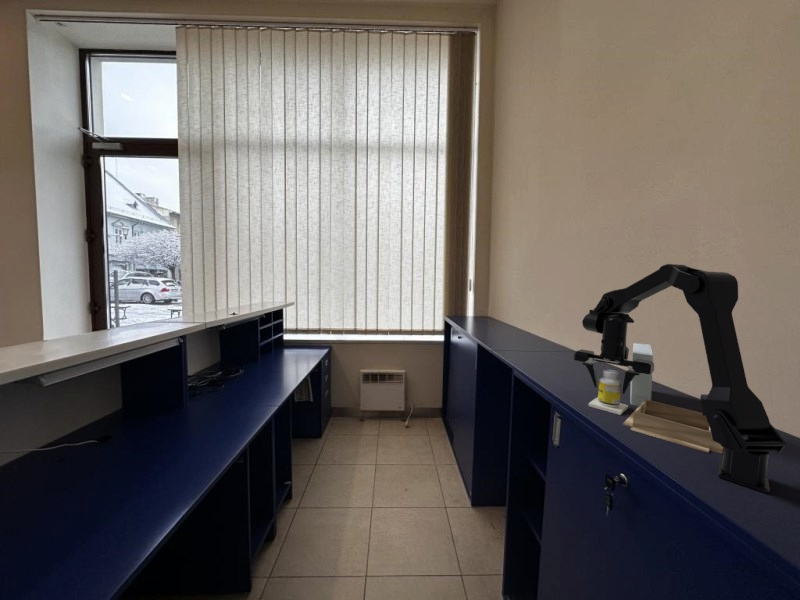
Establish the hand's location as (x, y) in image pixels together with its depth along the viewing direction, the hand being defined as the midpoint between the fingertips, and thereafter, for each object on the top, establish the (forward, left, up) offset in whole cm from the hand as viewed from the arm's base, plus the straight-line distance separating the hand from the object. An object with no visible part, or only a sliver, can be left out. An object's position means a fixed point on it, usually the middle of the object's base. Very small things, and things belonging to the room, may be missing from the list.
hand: (609, 390), depth 95 cm
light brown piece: (-4, -15, -5) cm, 16 cm away
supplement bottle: (0, 0, -4) cm, 4 cm away
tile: (0, 0, -5) cm, 5 cm away
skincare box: (+19, -4, -5) cm, 20 cm away
